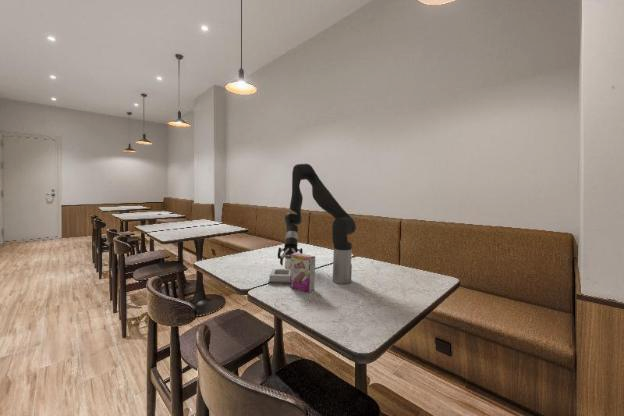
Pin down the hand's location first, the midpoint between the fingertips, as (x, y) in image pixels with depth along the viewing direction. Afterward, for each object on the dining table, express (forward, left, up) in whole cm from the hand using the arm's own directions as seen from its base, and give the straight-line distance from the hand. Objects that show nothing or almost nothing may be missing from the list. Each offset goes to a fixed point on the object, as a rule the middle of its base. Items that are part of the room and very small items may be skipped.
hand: (289, 265), depth 149 cm
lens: (0, -1, -5) cm, 5 cm away
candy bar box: (-8, +22, -5) cm, 24 cm away
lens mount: (+3, +11, -5) cm, 12 cm away
